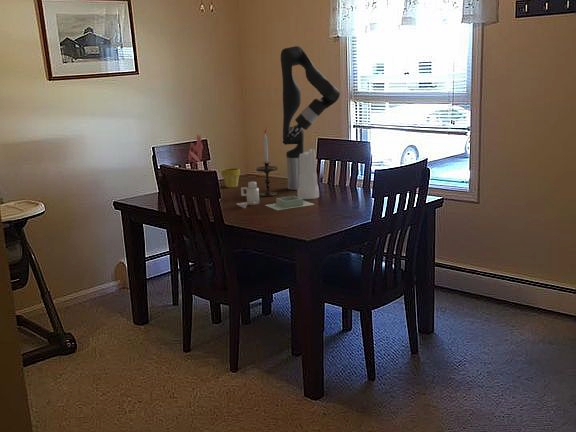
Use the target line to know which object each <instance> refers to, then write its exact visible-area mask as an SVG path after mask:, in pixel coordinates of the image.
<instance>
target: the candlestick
mask: <svg viewBox="0 0 576 432" xmlns="http://www.w3.org/2000/svg"><path fill="white" fill-rule="evenodd" d="M263 132H264V136H263V153H264V162H263V164H264V166H259V167H256V171H257V172H263V173H264V174H265V180H264V183H265V187H266V190H265V191H264V192H259V198H260V197H261V198H273V197H277V196H278V193H277V192H275V191H271V190H270V187H271V185H270V183H271V180H270V179H269V173H271V172H274V171H277V170H278V166H276V165H269V164H271V162H269V147H268V145H269V144H268V136H267V128H265V129H264V131H263Z"/></svg>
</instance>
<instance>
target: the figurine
mask: <svg viewBox="0 0 576 432" xmlns="http://www.w3.org/2000/svg"><path fill="white" fill-rule="evenodd" d="M203 148H204V146H203V143H202V138H201V134H198V133H197V134H196V145H195V144H194V143H193V142H190V147H189V151H188V156H187V157H188V165H190V164H191V161H192V162H193V163H195V165H196V164H197V165H196V167H197V168H196V171H197V170H198V171H199V164H201V161H202V158H203V156H202V154H203V153H202V152H203ZM192 150H193V151H192ZM195 152H196V153H197V154H195ZM192 158H193V159H194V160H193V159H192Z"/></svg>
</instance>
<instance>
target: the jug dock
mask: <svg viewBox="0 0 576 432" xmlns="http://www.w3.org/2000/svg"><path fill="white" fill-rule="evenodd" d="M314 205H316V204H315V203H312V202H310V201H307V200H305V199H302V198H299V197H298V196H296V195H289V196H282V197H276V198H275V203H270V204H265V205H264V206H266V207H268V208H270V209H273V210H275V211H281V210H282V211H283V210H288V209H293V208H301V207H308V206H314Z"/></svg>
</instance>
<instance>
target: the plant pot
mask: <svg viewBox="0 0 576 432" xmlns="http://www.w3.org/2000/svg"><path fill="white" fill-rule="evenodd" d="M220 172H221V177H223V182H224V185H225V188H237V187H238V186H239V178H240V175H241V169H240V168H238V167H230V168H229V167H228V168H224V169H221V171H220Z"/></svg>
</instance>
